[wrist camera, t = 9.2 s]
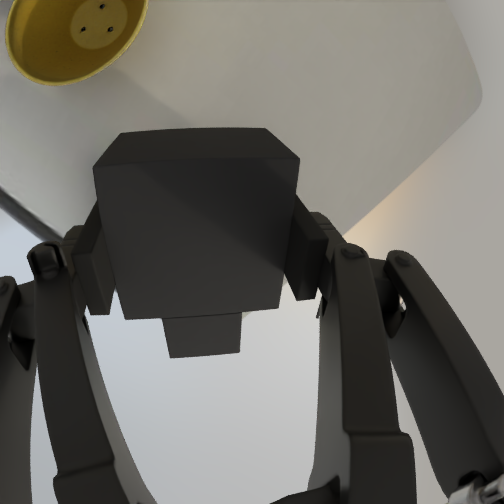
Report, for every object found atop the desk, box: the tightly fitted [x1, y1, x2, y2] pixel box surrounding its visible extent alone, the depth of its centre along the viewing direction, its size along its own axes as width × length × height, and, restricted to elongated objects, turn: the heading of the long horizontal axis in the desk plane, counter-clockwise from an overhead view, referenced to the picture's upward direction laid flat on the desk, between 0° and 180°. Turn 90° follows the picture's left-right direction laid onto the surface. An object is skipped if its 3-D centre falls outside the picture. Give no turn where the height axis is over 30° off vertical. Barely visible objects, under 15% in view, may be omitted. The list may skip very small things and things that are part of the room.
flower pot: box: [5, 0, 148, 86], centre depth 14 cm, size 10×10×7 cm
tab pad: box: [93, 128, 300, 358], centre depth 14 cm, size 7×10×5 cm
